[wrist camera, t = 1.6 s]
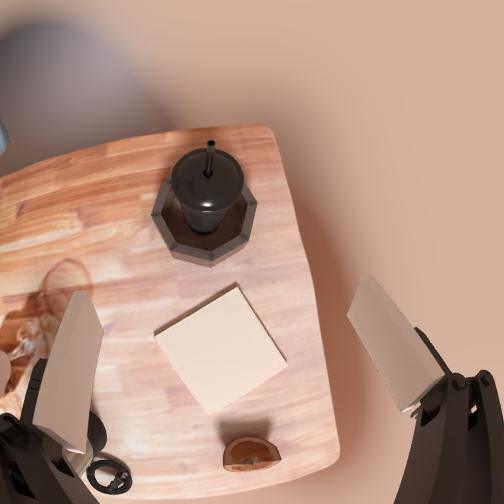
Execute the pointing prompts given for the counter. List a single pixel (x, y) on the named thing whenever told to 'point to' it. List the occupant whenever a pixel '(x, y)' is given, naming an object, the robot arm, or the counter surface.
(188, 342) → the coaster
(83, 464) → the milk frother
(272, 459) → the fruit slice
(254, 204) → the grey octagonal ring
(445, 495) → the robot arm
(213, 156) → the drinking cup
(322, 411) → the counter surface
